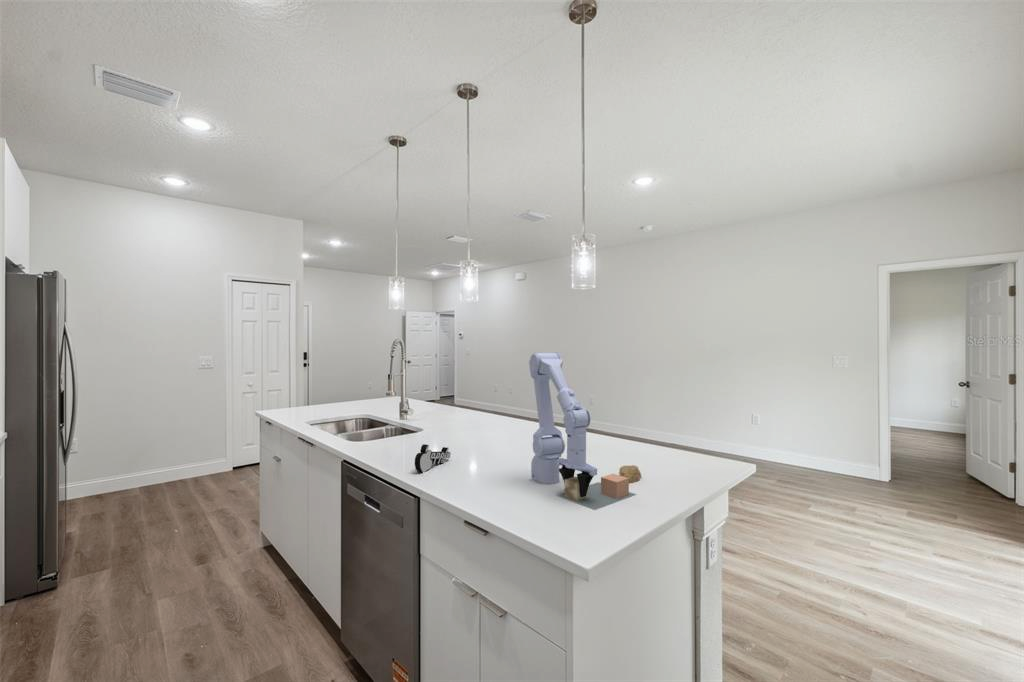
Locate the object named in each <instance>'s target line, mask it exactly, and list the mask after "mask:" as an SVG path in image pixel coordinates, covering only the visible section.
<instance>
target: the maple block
mask: <svg viewBox="0 0 1024 682" xmlns="http://www.w3.org/2000/svg"><path fill="white" fill-rule="evenodd" d="M563 493H564V496H566V497H569V498H571V499H574V500H576V501H577V500H580V499H583V498H586V497H588V490H587V494H586V496H585V497H580V492H579V481H578V477H577V475H574V477H572V478H568V479H565V484H564V492H563Z"/></svg>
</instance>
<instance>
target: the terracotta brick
mask: <svg viewBox="0 0 1024 682" xmlns="http://www.w3.org/2000/svg"><path fill="white" fill-rule="evenodd" d="M600 483H601V494H604V495H607V496H610V497H613V498H616V499H618V498H621V497H623V496H626V495H629V492H630V491H629V489H630V483H629V478H626V477H623V476H619V474H616V473H610V474H608V475H605V476H601V477H600Z"/></svg>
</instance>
